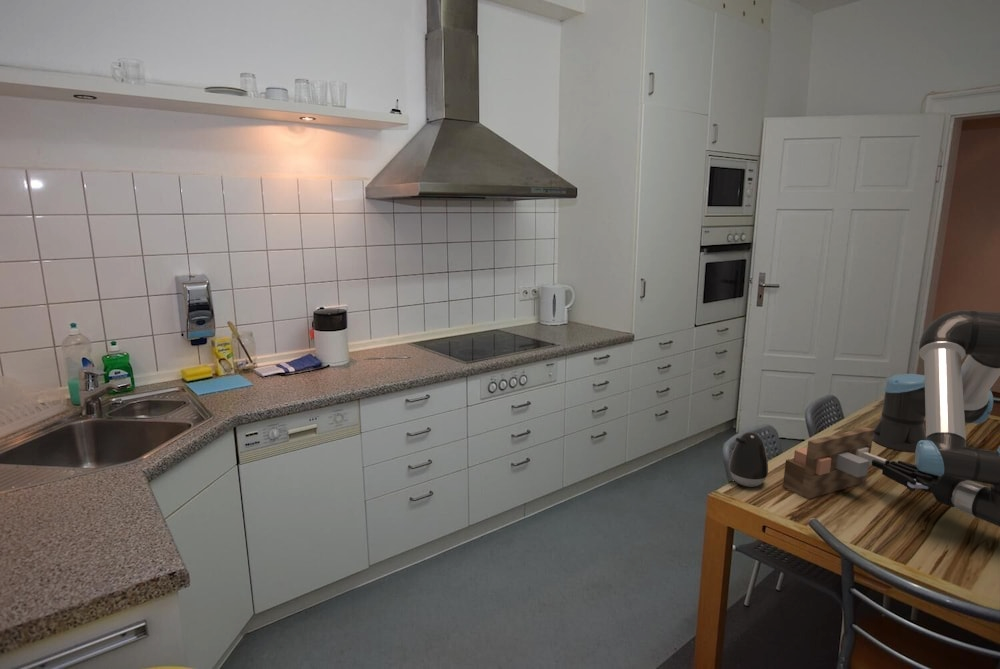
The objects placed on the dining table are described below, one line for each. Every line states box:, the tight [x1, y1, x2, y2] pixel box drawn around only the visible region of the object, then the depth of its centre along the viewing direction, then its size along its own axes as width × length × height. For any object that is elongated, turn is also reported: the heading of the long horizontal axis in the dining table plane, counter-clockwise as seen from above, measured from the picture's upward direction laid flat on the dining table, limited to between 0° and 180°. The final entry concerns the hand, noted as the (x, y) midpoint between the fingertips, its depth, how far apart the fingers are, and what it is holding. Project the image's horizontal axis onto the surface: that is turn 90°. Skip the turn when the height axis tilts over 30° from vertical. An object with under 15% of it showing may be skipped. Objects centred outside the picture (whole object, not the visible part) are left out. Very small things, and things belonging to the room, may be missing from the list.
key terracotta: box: [793, 447, 831, 475], centre depth 155 cm, size 4×8×4 cm, turn 24°
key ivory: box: [856, 447, 869, 458], centre depth 162 cm, size 4×8×4 cm, turn 24°
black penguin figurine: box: [728, 431, 769, 488], centre depth 160 cm, size 10×10×15 cm
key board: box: [782, 426, 875, 500], centre depth 159 cm, size 24×8×16 cm, turn 114°
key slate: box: [835, 451, 870, 478], centre depth 154 cm, size 4×8×4 cm, turn 24°
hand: (863, 456), depth 158 cm, fingers closed
